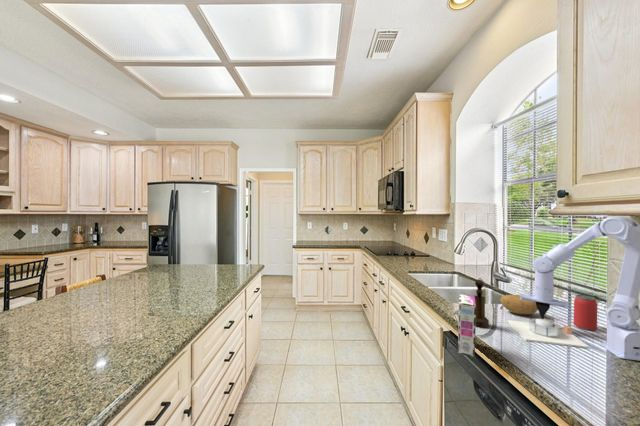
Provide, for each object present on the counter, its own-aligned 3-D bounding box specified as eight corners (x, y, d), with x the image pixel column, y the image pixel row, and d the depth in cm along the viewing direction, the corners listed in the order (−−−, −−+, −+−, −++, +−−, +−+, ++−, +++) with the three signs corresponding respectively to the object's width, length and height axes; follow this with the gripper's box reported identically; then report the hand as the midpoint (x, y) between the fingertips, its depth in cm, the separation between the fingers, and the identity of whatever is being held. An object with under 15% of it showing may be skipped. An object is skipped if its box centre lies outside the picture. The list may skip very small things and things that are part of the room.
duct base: (589, 348, 91) (589, 334, 91) (525, 340, 96) (525, 327, 96) (560, 327, 107) (560, 315, 107) (507, 321, 112) (507, 310, 112)
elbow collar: (556, 338, 95) (556, 329, 95) (527, 330, 102) (527, 321, 102) (564, 328, 104) (564, 320, 104) (536, 321, 110) (536, 313, 110)
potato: (498, 307, 128) (498, 290, 128) (535, 312, 122) (535, 294, 122) (502, 314, 119) (502, 296, 119) (542, 320, 113) (542, 301, 113)
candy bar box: (475, 357, 85) (476, 305, 85) (457, 354, 87) (458, 303, 87) (474, 342, 95) (474, 295, 95) (458, 339, 97) (458, 293, 97)
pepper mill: (478, 320, 114) (478, 277, 113) (492, 326, 107) (493, 281, 107) (466, 322, 111) (466, 278, 111) (479, 328, 105) (480, 282, 105)
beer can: (601, 332, 103) (602, 300, 103) (581, 330, 104) (581, 299, 104) (588, 324, 109) (589, 295, 109) (569, 323, 111) (569, 294, 110)
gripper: (568, 289, 105) (567, 323, 105) (521, 281, 114) (520, 313, 115) (569, 293, 99) (567, 330, 100) (520, 285, 109) (518, 318, 109)
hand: (542, 321), depth 107 cm, fingers closed, pressing on elbow collar
